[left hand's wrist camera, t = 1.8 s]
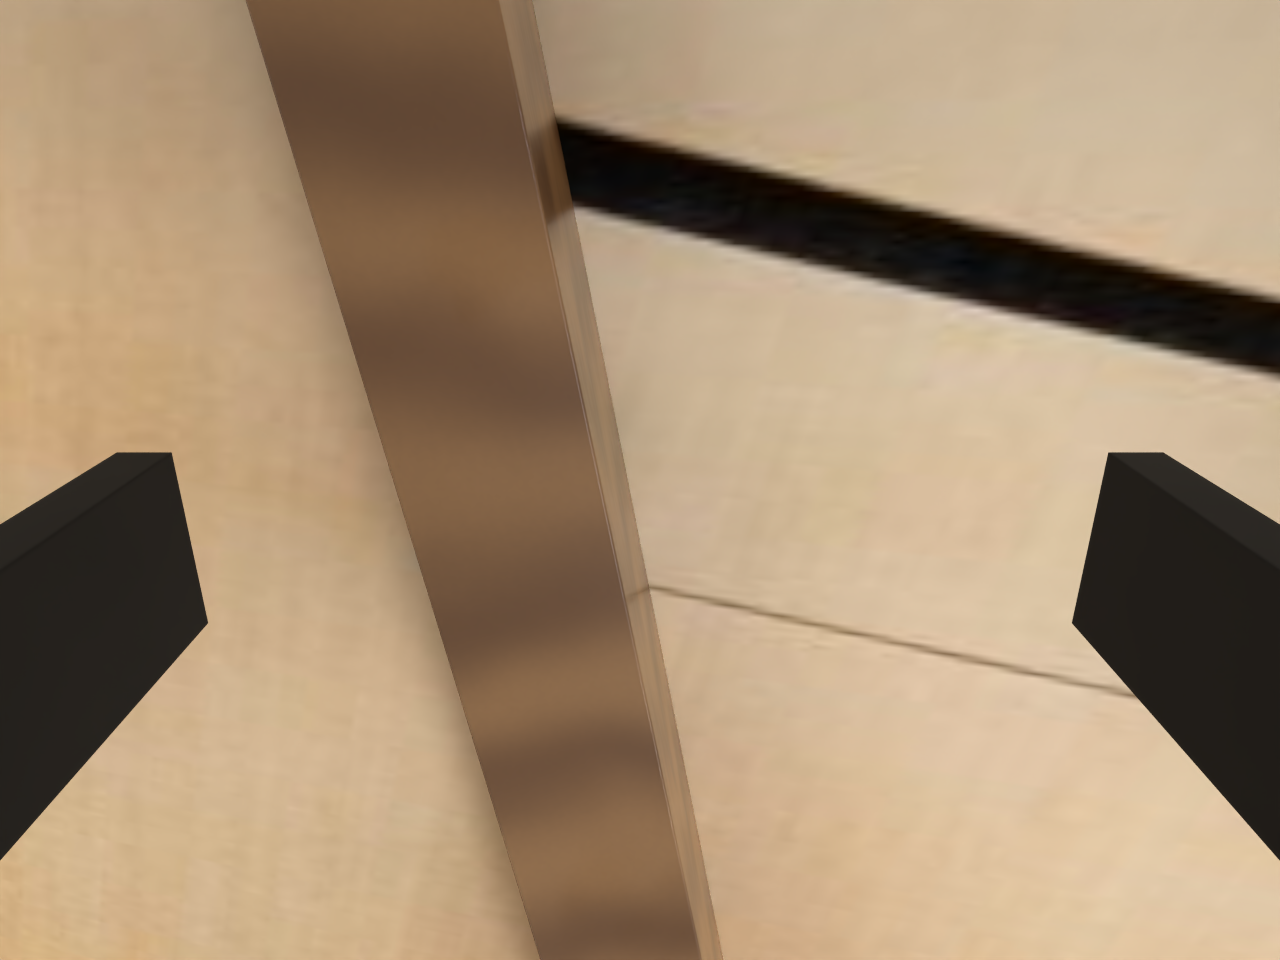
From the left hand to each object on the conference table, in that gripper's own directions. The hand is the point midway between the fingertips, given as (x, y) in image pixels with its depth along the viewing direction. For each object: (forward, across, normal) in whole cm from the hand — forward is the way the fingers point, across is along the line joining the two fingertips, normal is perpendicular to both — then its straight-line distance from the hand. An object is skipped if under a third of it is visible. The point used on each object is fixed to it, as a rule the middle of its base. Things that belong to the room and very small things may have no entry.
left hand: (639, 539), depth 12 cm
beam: (+18, -1, -20) cm, 27 cm away
